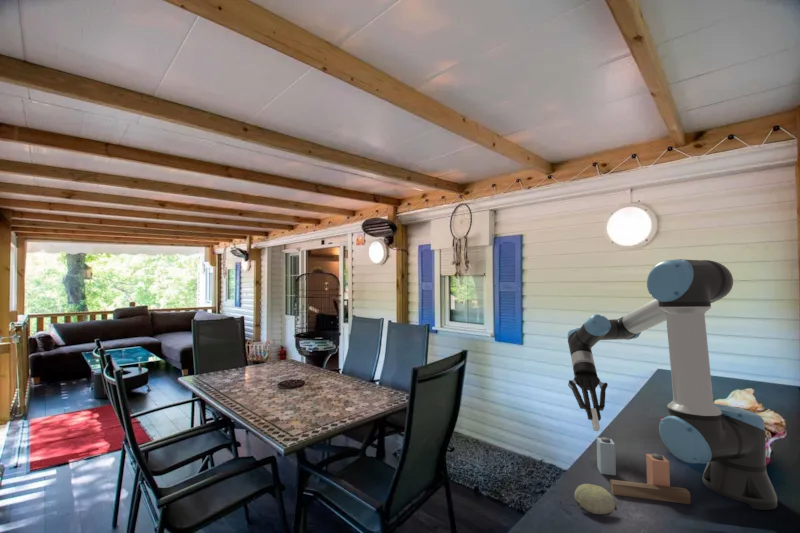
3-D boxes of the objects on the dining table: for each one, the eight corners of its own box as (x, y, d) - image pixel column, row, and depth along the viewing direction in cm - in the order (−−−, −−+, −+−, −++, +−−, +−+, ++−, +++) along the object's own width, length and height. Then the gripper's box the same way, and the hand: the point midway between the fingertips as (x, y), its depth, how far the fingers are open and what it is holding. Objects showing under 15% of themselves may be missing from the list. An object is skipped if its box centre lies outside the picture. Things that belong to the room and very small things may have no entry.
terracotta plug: (647, 486, 102) (646, 451, 103) (663, 488, 101) (662, 452, 102) (653, 494, 99) (652, 457, 99) (670, 496, 98) (669, 459, 98)
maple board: (596, 469, 114) (596, 456, 114) (662, 477, 110) (662, 463, 110) (612, 499, 99) (612, 483, 99) (690, 509, 94) (690, 493, 94)
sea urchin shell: (575, 484, 103) (598, 470, 99) (598, 512, 99) (622, 499, 96) (566, 498, 96) (590, 484, 92) (590, 530, 92) (616, 516, 88)
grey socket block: (597, 467, 113) (596, 435, 114) (611, 468, 112) (610, 436, 113) (601, 473, 109) (600, 440, 110) (615, 475, 108) (615, 442, 109)
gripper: (601, 372, 137) (616, 436, 121) (563, 370, 141) (573, 432, 124) (605, 361, 133) (621, 426, 116) (566, 359, 136) (576, 422, 119)
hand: (596, 429), depth 120 cm, fingers closed
